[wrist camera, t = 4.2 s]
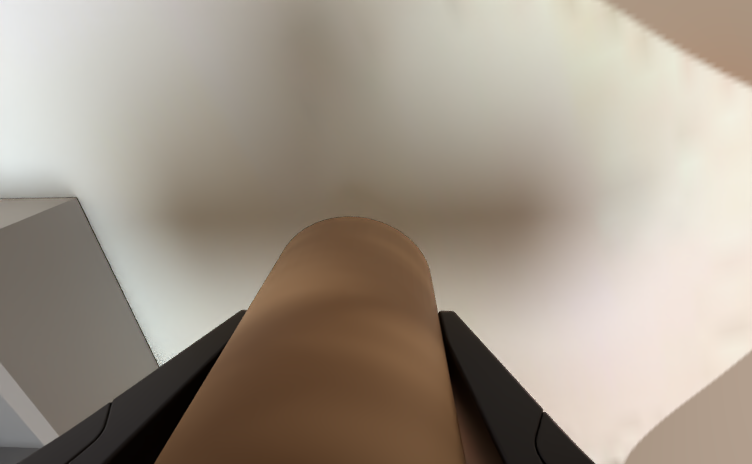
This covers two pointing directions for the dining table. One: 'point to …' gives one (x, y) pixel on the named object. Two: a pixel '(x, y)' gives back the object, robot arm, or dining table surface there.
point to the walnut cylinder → (330, 362)
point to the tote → (59, 325)
